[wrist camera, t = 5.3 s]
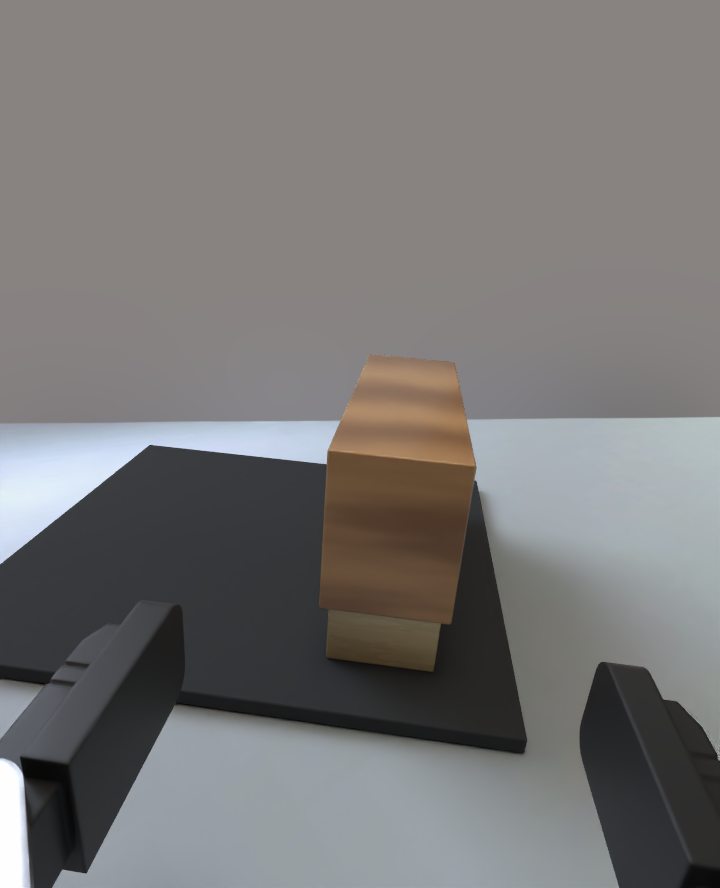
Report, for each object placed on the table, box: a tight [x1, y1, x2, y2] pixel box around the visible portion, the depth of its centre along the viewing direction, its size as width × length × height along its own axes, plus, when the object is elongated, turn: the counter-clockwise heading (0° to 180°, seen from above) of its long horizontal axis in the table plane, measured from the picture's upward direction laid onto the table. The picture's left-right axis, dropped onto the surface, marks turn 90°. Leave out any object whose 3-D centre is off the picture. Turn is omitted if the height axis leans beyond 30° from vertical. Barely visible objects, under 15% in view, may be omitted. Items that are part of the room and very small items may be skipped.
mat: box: [0, 445, 527, 753], centre depth 28 cm, size 22×20×1 cm
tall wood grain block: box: [319, 354, 476, 672], centre depth 25 cm, size 14×5×8 cm, turn 174°
